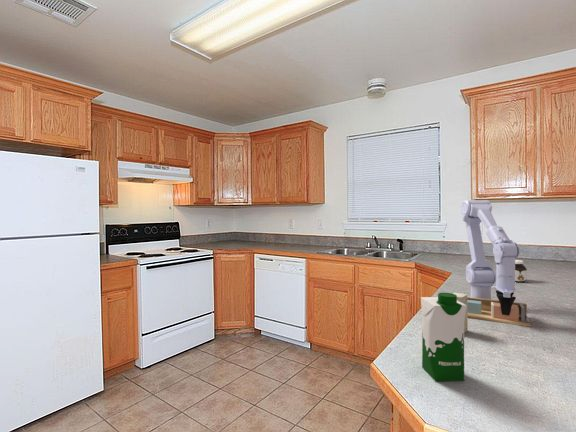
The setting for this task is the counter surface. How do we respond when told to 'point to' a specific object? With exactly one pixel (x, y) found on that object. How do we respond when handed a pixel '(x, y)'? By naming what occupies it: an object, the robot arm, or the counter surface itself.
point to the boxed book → (498, 314)
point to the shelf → (487, 312)
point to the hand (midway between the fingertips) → (505, 312)
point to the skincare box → (463, 299)
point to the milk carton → (443, 337)
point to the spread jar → (520, 272)
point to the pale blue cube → (474, 307)
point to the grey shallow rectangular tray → (523, 314)
